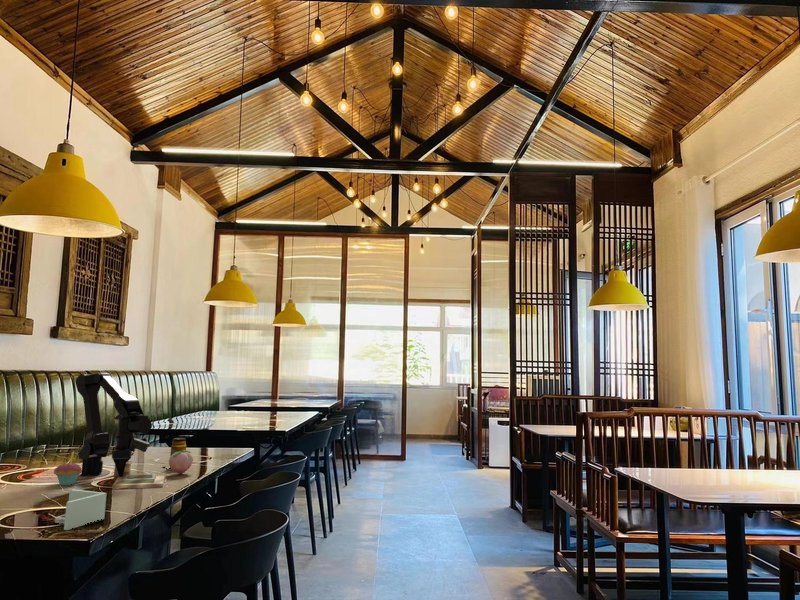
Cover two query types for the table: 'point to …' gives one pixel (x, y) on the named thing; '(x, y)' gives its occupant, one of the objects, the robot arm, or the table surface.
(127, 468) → the block
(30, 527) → the table surface
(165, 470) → the table surface
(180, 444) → the condiment
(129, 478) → the board
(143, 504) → the table surface
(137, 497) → the table surface
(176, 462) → the decorative fruit
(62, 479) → the cupcake
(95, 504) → the l-shaped corner panel
